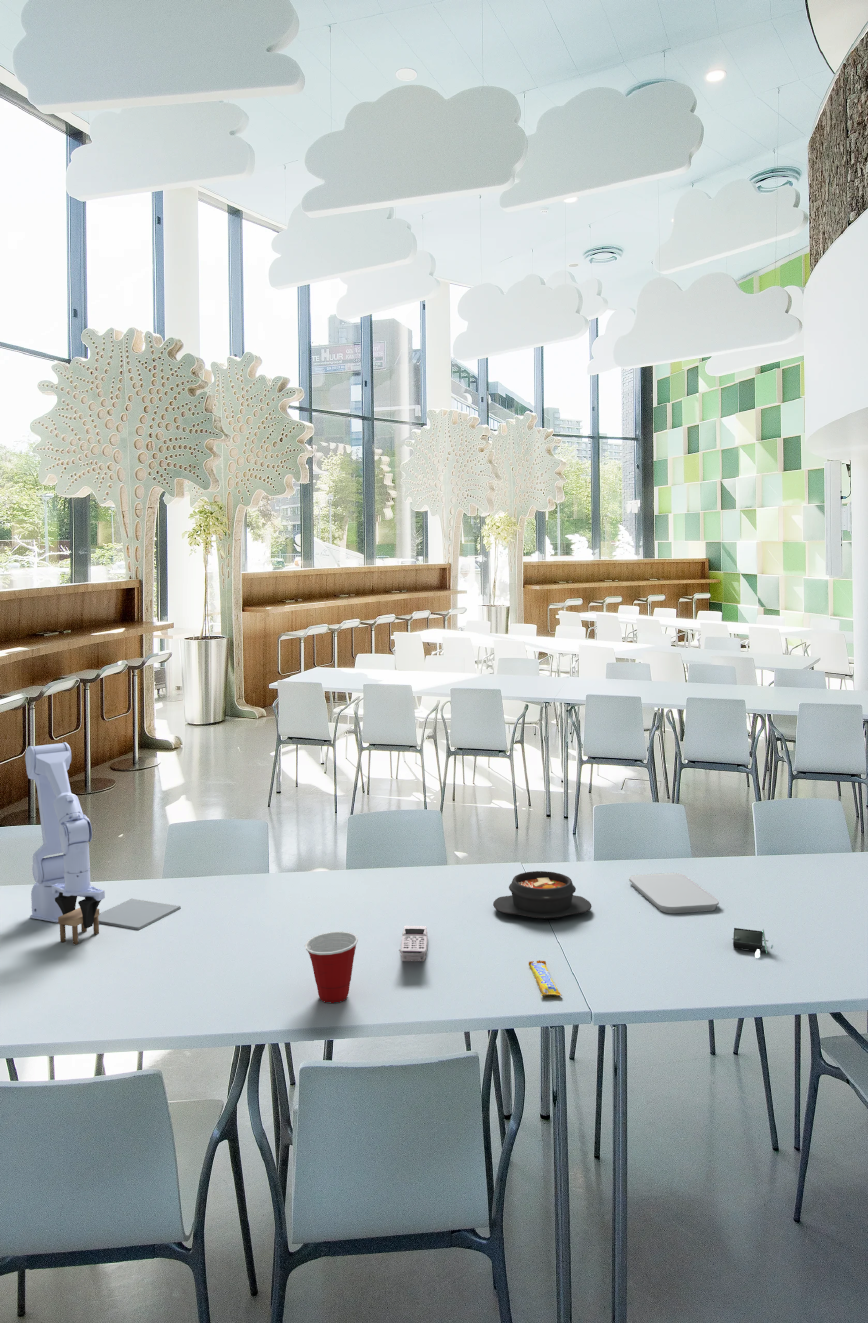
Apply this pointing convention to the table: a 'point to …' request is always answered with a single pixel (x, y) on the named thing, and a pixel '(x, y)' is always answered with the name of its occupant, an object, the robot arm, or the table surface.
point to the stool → (75, 924)
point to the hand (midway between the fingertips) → (79, 925)
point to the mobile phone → (414, 943)
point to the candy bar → (543, 978)
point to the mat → (136, 913)
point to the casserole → (542, 896)
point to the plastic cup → (332, 963)
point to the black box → (749, 940)
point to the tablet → (674, 893)
